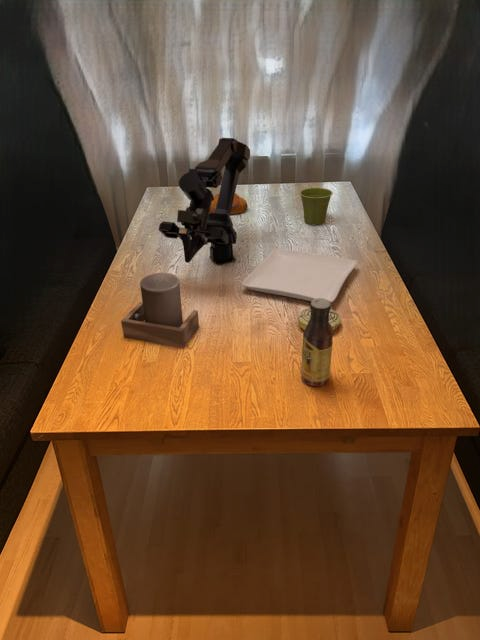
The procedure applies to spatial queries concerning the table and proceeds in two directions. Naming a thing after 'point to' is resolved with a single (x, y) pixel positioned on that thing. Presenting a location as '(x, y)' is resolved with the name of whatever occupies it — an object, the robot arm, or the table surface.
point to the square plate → (300, 275)
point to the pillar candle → (162, 299)
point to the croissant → (237, 206)
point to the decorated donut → (306, 313)
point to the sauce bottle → (317, 344)
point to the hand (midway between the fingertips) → (186, 262)
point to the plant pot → (315, 204)
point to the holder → (158, 329)
